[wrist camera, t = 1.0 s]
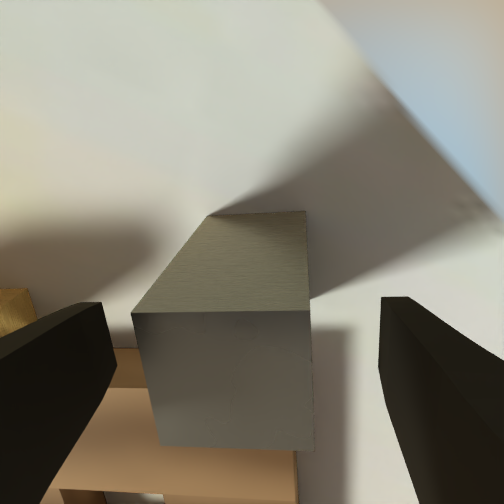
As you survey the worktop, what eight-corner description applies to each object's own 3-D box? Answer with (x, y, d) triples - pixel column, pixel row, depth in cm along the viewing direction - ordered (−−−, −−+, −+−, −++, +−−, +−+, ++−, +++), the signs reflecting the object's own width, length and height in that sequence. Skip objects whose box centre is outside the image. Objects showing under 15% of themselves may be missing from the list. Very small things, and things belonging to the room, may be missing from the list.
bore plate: (303, 587, 22) (304, 646, 19) (42, 565, 24) (15, 615, 22) (290, 348, 16) (288, 390, 14) (-52, 348, 18) (-103, 384, 16)
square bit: (308, 300, 15) (314, 451, 9) (218, 301, 16) (160, 445, 9) (305, 210, 14) (310, 310, 7) (207, 215, 14) (130, 312, 8)
